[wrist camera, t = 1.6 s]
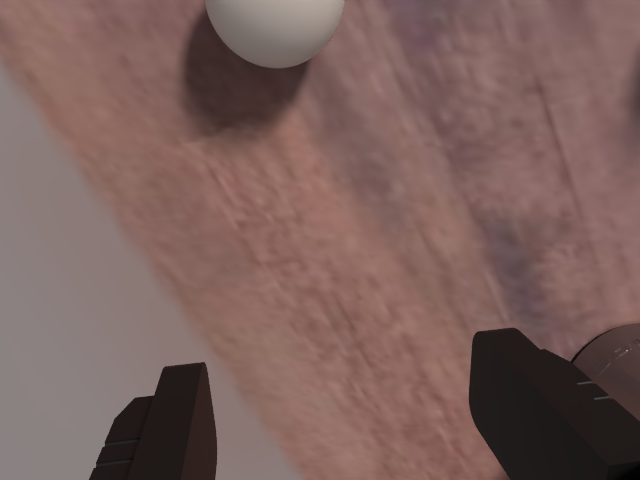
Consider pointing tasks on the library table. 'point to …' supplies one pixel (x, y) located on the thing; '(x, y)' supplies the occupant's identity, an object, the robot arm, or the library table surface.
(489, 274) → the library table surface
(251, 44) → the cue ball
